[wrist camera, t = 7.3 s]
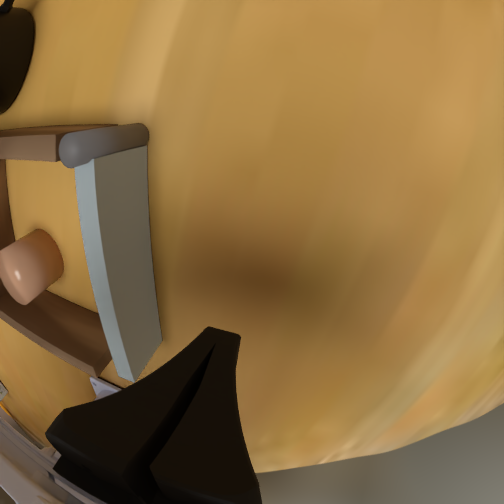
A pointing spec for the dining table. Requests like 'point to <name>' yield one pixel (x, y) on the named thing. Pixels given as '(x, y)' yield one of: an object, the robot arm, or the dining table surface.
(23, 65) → the mug
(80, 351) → the cubby
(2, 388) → the tea box
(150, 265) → the door
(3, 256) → the tan rounded cylinder
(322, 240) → the dining table surface
